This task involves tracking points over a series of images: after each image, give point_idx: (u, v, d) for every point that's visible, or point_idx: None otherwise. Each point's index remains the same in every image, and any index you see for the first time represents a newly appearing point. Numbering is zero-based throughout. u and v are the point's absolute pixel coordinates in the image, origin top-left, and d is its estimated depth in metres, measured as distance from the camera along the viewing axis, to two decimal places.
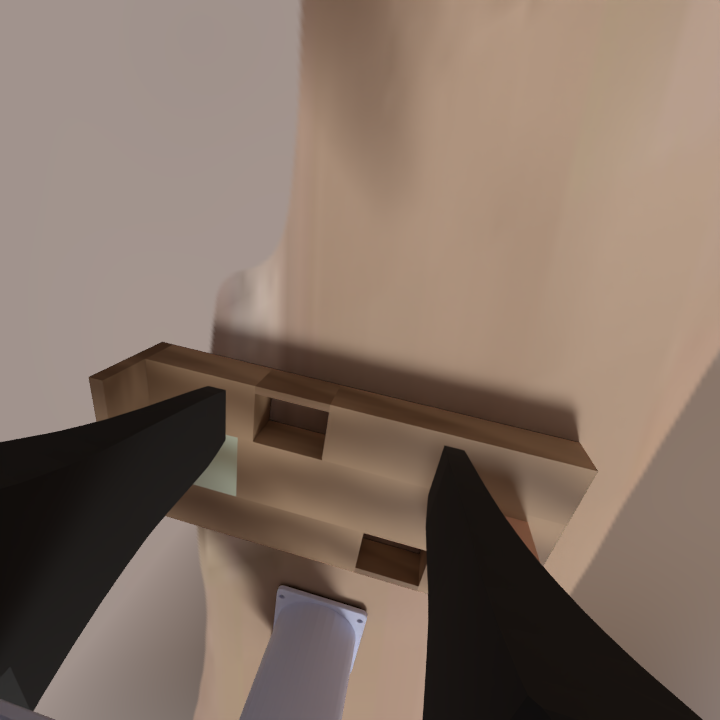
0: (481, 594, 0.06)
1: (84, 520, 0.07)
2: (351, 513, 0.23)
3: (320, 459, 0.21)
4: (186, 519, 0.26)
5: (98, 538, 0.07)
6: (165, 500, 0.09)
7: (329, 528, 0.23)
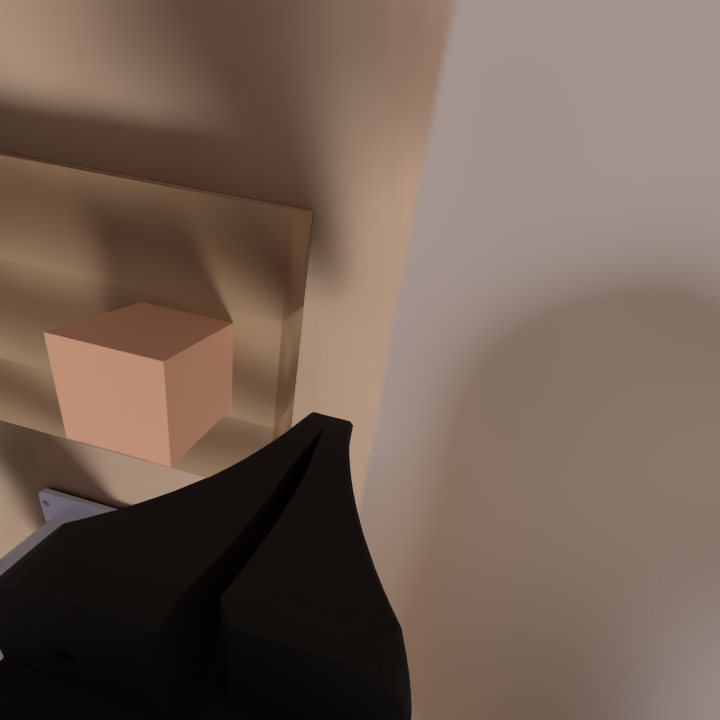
0: (273, 533, 0.06)
1: None
2: (28, 339, 0.16)
3: None
4: None
5: None
6: None
7: (15, 370, 0.17)
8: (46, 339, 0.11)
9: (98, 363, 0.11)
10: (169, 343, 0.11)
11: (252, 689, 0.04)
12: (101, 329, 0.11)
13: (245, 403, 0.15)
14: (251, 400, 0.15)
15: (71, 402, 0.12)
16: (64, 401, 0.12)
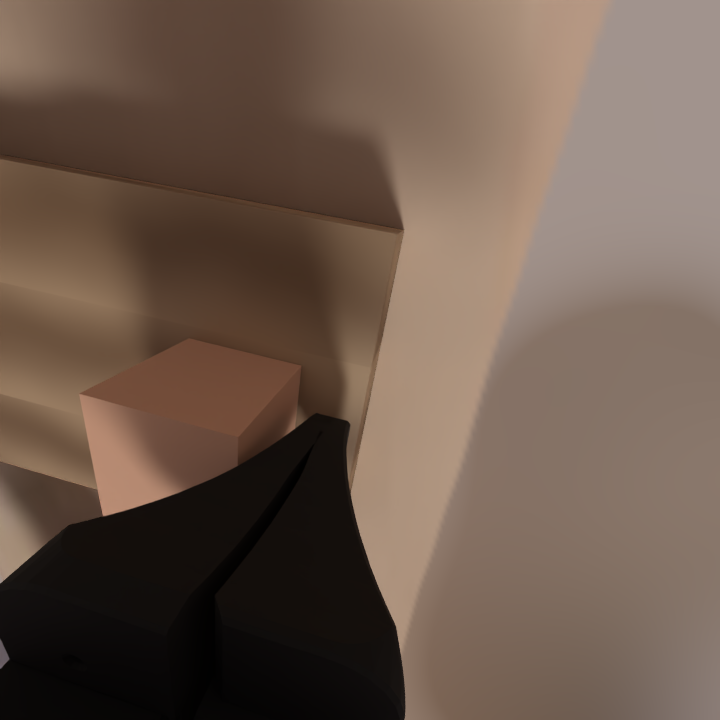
0: (269, 532, 0.06)
1: None
2: (54, 380, 0.14)
3: None
4: None
5: None
6: None
7: (37, 413, 0.15)
8: (82, 402, 0.08)
9: (149, 433, 0.08)
10: (237, 404, 0.09)
11: (247, 687, 0.04)
12: (150, 385, 0.09)
13: None
14: None
15: (111, 476, 0.09)
16: (102, 475, 0.09)
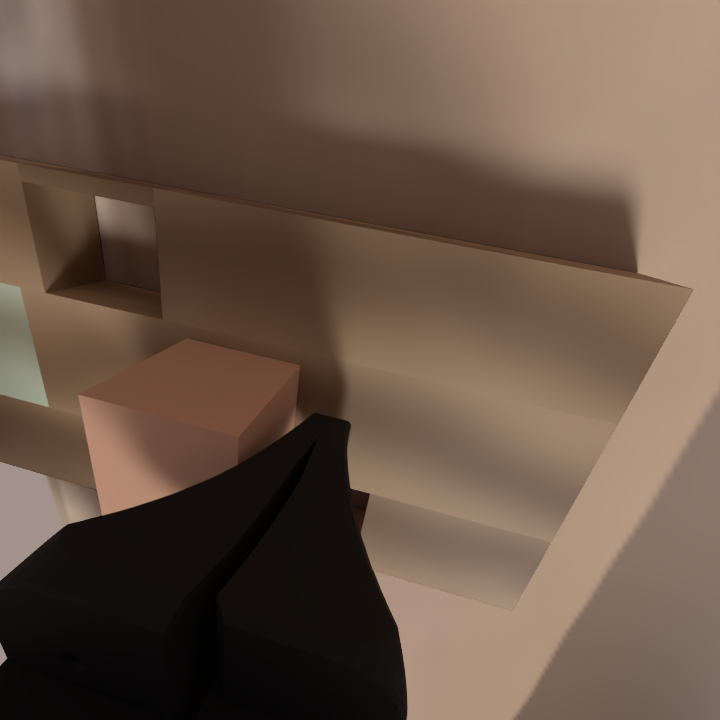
0: (270, 532, 0.06)
1: None
2: None
3: (160, 319, 0.12)
4: None
5: None
6: None
7: None
8: (81, 403, 0.08)
9: (149, 434, 0.08)
10: (236, 404, 0.09)
11: (248, 688, 0.04)
12: (149, 385, 0.09)
13: (520, 513, 0.12)
14: (530, 510, 0.12)
15: (111, 478, 0.09)
16: (101, 476, 0.09)
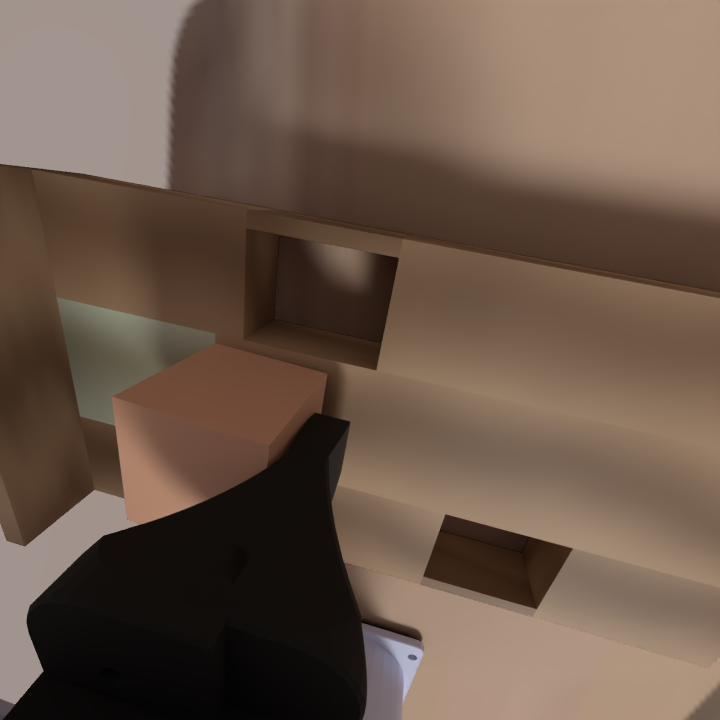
0: (245, 525, 0.06)
1: None
2: (426, 477, 0.12)
3: (372, 369, 0.11)
4: None
5: None
6: None
7: (381, 507, 0.13)
8: (114, 405, 0.08)
9: (179, 439, 0.08)
10: (266, 411, 0.09)
11: None
12: (180, 389, 0.09)
13: None
14: None
15: (138, 481, 0.09)
16: (129, 478, 0.09)
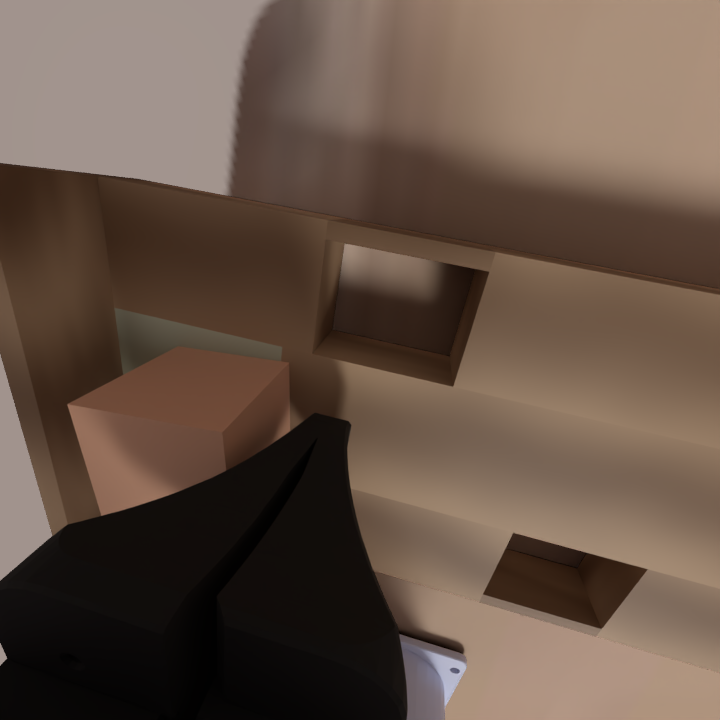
0: (270, 533, 0.06)
1: None
2: (496, 495, 0.12)
3: (449, 385, 0.11)
4: None
5: None
6: None
7: (445, 524, 0.13)
8: (71, 412, 0.08)
9: (138, 437, 0.08)
10: (222, 402, 0.09)
11: (249, 688, 0.04)
12: (137, 391, 0.09)
13: None
14: None
15: (107, 485, 0.09)
16: (99, 484, 0.09)
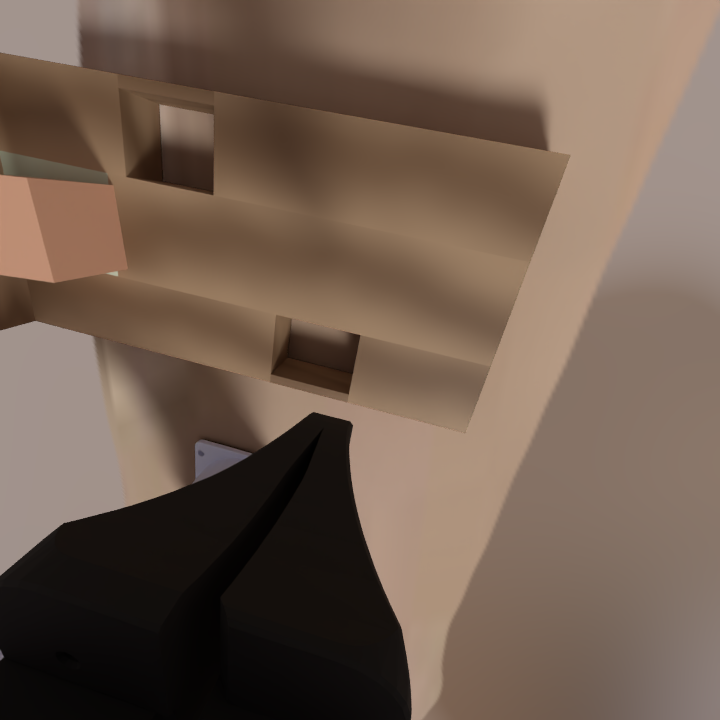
0: (273, 533, 0.06)
1: None
2: (258, 283, 0.17)
3: (211, 194, 0.16)
4: (66, 324, 0.21)
5: None
6: None
7: (233, 313, 0.18)
8: None
9: None
10: None
11: (252, 689, 0.04)
12: None
13: (468, 342, 0.17)
14: (475, 339, 0.17)
15: None
16: None
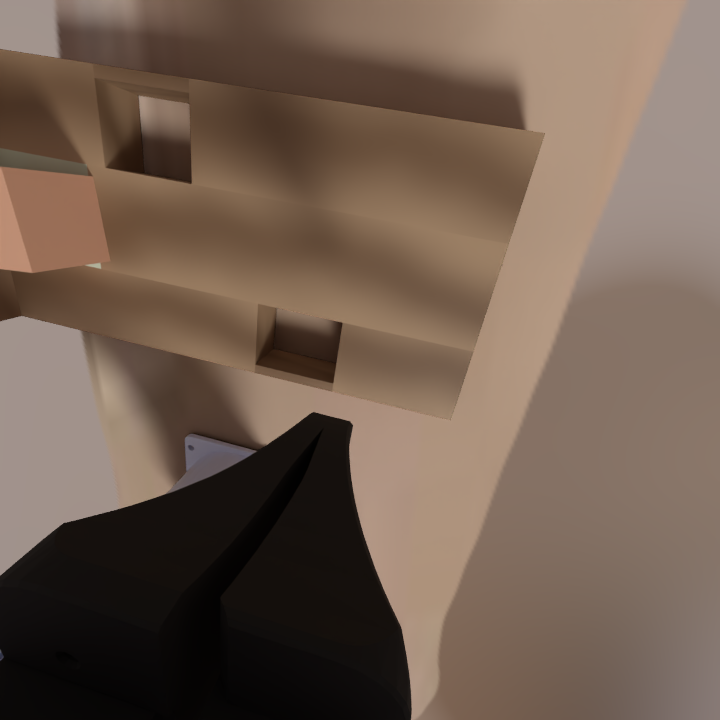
0: (273, 533, 0.06)
1: None
2: (239, 272, 0.17)
3: (189, 183, 0.16)
4: (51, 318, 0.21)
5: None
6: None
7: (216, 303, 0.18)
8: None
9: None
10: None
11: (252, 689, 0.04)
12: None
13: (450, 327, 0.17)
14: (457, 324, 0.16)
15: None
16: None
